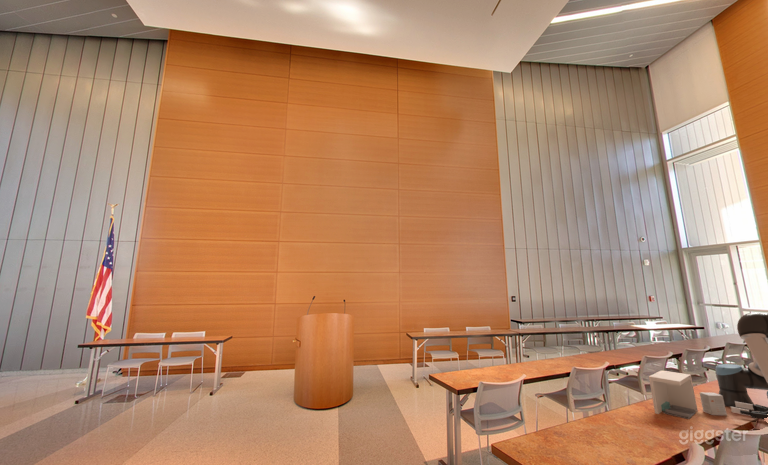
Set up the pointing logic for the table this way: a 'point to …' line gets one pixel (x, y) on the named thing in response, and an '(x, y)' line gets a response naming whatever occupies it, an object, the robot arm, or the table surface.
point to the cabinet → (673, 394)
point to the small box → (713, 403)
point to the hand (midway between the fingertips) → (733, 406)
